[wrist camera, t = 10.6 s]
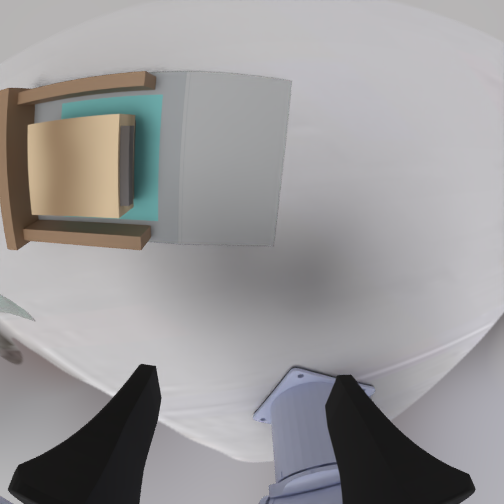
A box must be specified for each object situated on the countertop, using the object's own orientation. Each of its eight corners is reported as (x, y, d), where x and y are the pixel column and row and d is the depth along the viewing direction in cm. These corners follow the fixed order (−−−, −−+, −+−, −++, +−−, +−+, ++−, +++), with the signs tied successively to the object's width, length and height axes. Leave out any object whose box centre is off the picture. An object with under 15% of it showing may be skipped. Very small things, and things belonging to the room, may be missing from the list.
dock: (289, 82, 16) (304, 68, 12) (272, 241, 20) (279, 273, 16) (39, 92, 15) (-1, 91, 11) (42, 226, 19) (7, 249, 15)
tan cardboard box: (150, 115, 15) (129, 113, 12) (148, 201, 17) (128, 218, 14) (59, 122, 15) (27, 124, 12) (61, 199, 17) (31, 214, 14)
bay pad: (163, 94, 15) (162, 94, 15) (158, 220, 18) (158, 221, 18) (63, 103, 14) (62, 103, 14) (64, 216, 17) (64, 216, 17)
